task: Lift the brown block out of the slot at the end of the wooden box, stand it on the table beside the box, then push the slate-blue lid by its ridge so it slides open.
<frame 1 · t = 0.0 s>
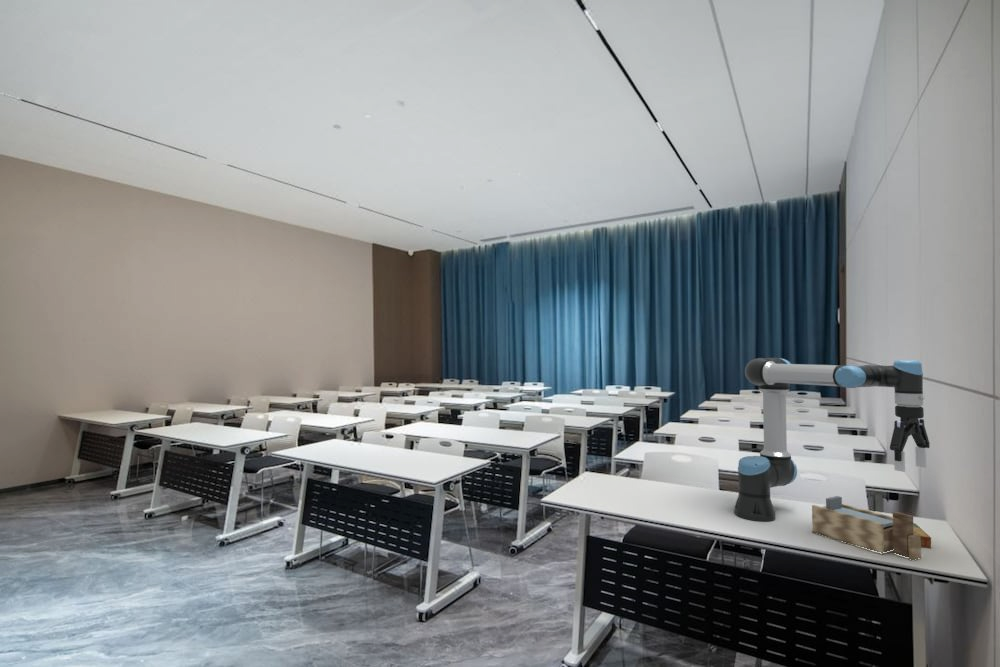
hand: (910, 468, 169), 28 cm above the table, tool pointing down, fingers open, 13 cm apart
carton: (909, 540, 181), on the table
lid: (854, 510, 180), point 11 cm above the table, slide at 0.0 cm
brown block: (903, 555, 166), on the table
wooden box: (855, 540, 180), on the table
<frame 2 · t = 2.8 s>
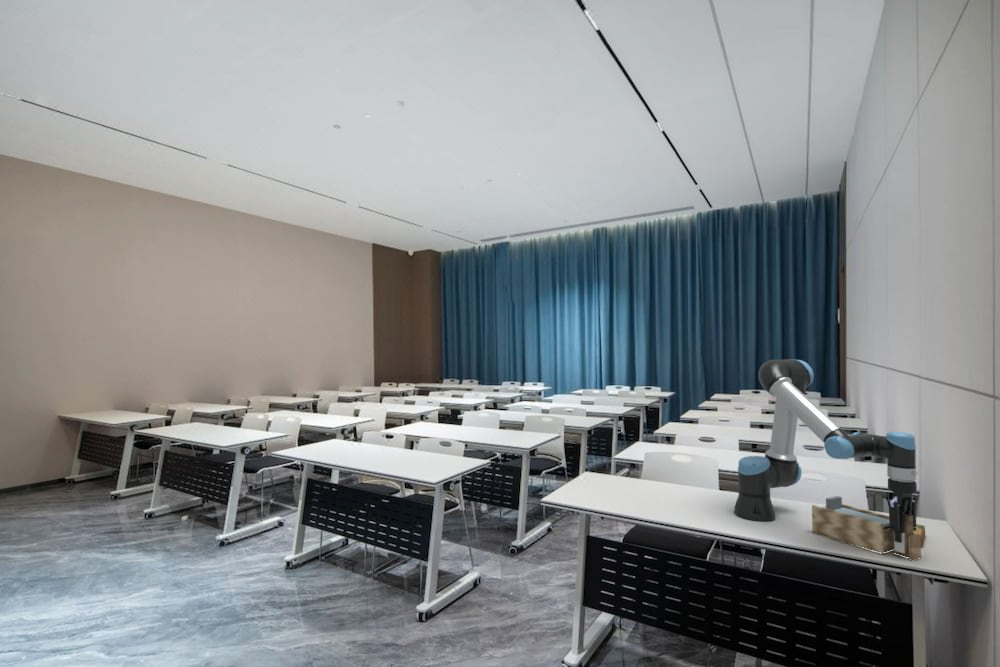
hand: (903, 550, 166), 2 cm above the table, tool pointing down, fingers closed on brown block, 4 cm apart
brown block: (903, 555, 166), on the table, touching gripper
when the fingers open (4 cm above the table, at t = 7.5 s): brown block drops 3 cm, on the table.
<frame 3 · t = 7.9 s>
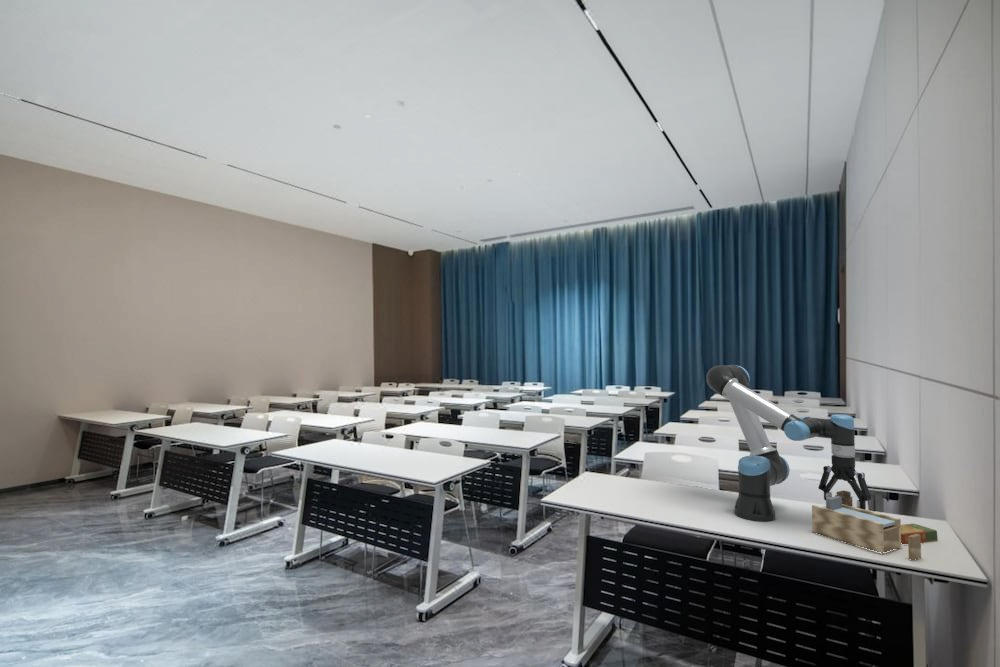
hand: (844, 513, 192), 5 cm above the table, tool pointing down, fingers open, 10 cm apart
brown block: (844, 527, 192), on the table
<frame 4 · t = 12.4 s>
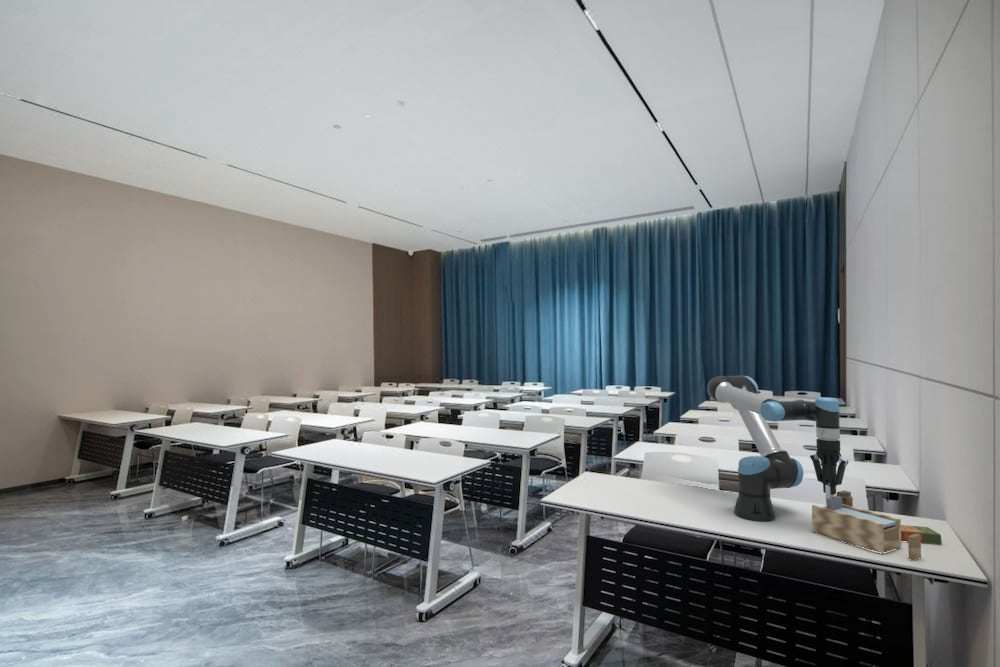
hand: (830, 502, 188), 11 cm above the table, tool pointing down, fingers closed
lid: (855, 510, 180), point 11 cm above the table, slide at 0.2 cm, touching gripper
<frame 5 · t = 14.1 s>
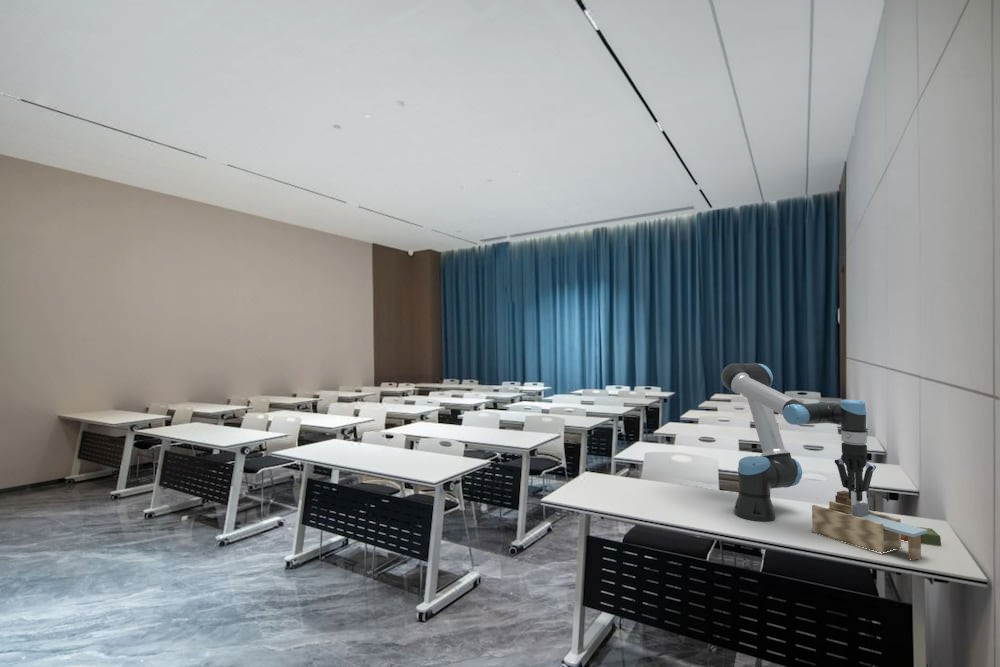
hand: (855, 509, 180), 11 cm above the table, tool pointing down, fingers closed
lid: (883, 517, 172), point 11 cm above the table, slide at 9.1 cm, touching gripper
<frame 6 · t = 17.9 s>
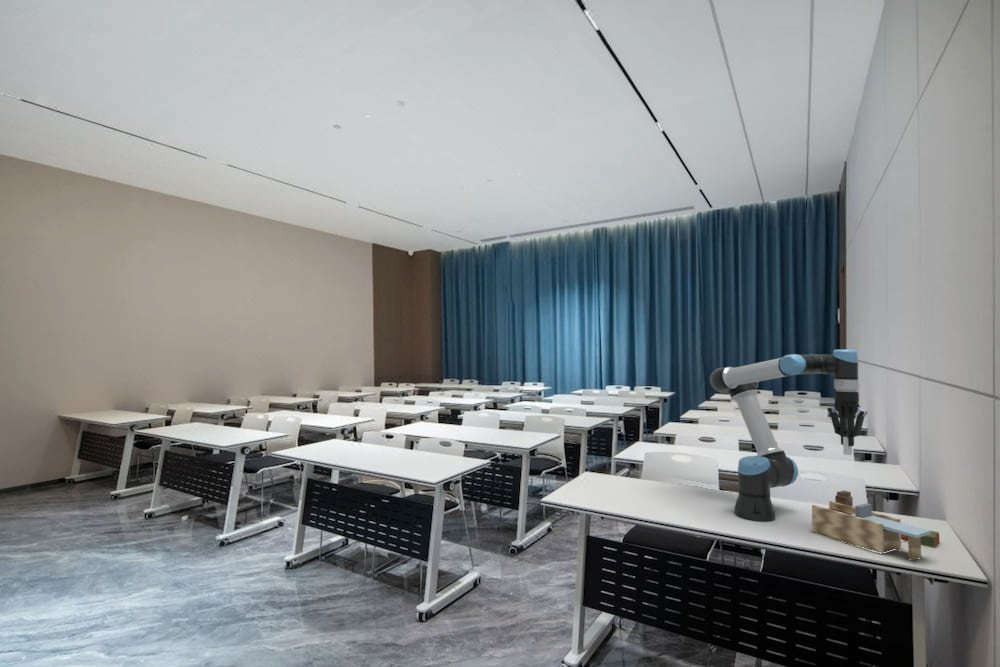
hand: (847, 454, 186), 29 cm above the table, tool pointing down, fingers closed
lid: (886, 518, 171), point 11 cm above the table, slide at 10.0 cm
at the end: lid slide at 10.0 cm; brown block inside the target area (0.1 cm from its centre), on the table; the gripper is holding nothing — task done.
